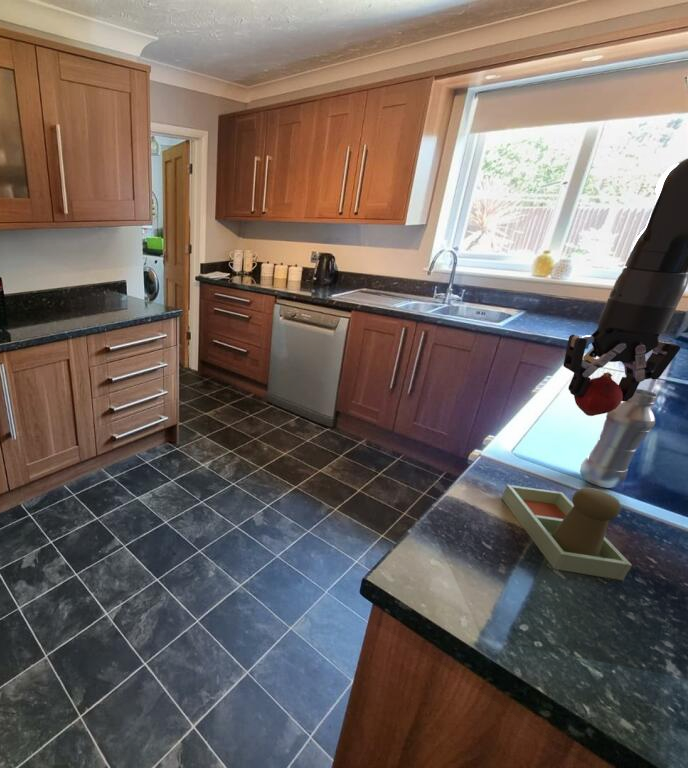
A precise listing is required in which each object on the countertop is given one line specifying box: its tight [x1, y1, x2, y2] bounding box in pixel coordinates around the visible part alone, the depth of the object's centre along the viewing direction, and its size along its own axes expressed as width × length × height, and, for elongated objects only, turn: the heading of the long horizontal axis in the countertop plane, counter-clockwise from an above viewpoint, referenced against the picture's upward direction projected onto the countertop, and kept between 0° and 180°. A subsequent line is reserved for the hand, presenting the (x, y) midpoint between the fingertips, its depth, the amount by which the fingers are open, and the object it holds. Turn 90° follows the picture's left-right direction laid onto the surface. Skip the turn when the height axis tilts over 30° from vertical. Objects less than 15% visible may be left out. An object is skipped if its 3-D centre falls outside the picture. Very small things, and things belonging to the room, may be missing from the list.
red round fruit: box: [573, 371, 623, 417], centre depth 72 cm, size 6×6×8 cm
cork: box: [551, 487, 622, 557], centre depth 65 cm, size 6×6×11 cm
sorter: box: [501, 484, 633, 581], centre depth 71 cm, size 9×17×3 cm, turn 167°
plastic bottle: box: [579, 388, 658, 489], centre depth 81 cm, size 6×7×20 cm
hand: (597, 397), depth 72 cm, fingers closed on red round fruit, 6 cm apart
